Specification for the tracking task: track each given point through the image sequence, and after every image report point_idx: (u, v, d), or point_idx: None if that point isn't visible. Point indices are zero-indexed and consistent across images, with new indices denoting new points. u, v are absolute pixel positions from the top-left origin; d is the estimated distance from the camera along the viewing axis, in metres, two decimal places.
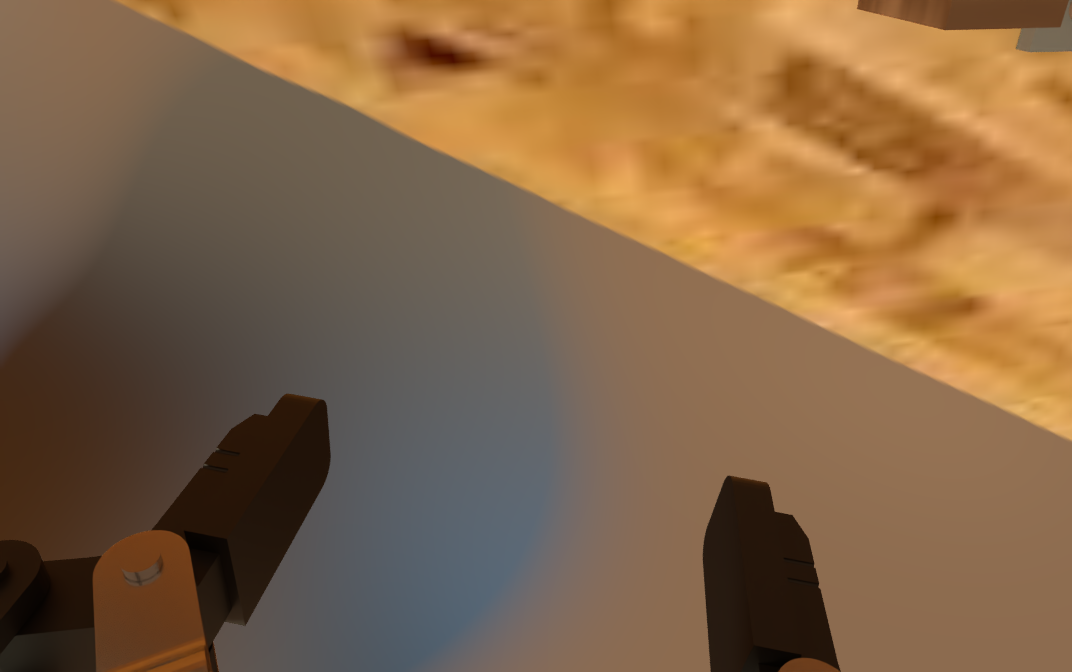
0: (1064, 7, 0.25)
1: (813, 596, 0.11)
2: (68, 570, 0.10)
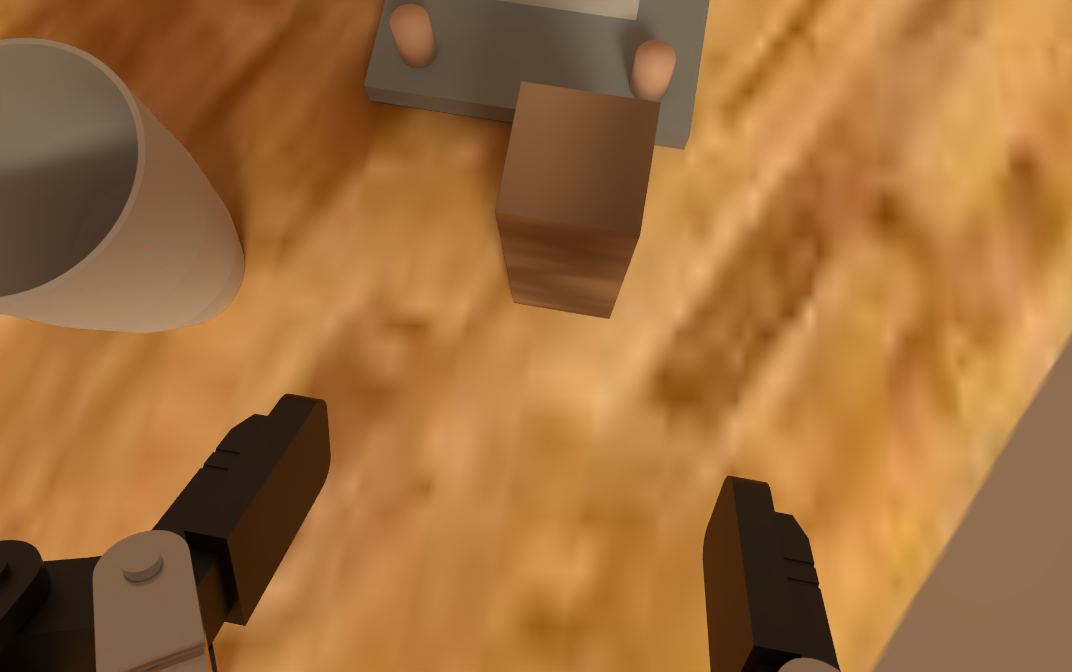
0: (637, 101, 0.19)
1: (813, 596, 0.11)
2: (69, 570, 0.10)
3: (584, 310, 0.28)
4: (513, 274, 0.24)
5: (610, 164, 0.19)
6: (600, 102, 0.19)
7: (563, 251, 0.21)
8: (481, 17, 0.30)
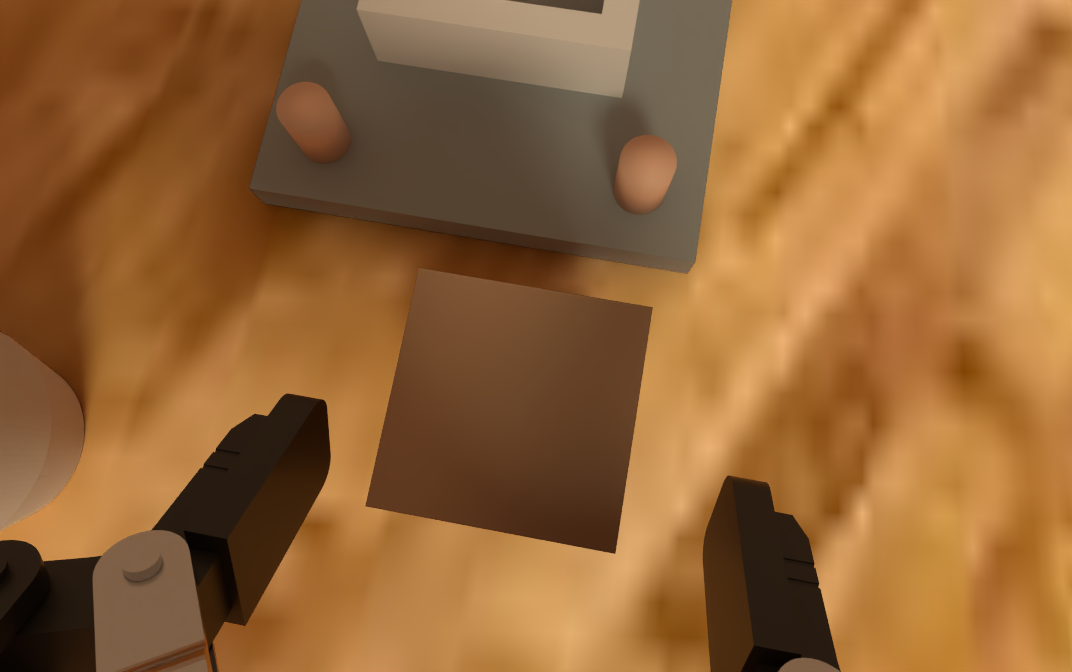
0: (612, 305, 0.11)
1: (813, 596, 0.11)
2: (68, 570, 0.10)
3: None
4: None
5: (566, 420, 0.11)
6: (550, 306, 0.11)
7: None
8: (412, 92, 0.22)
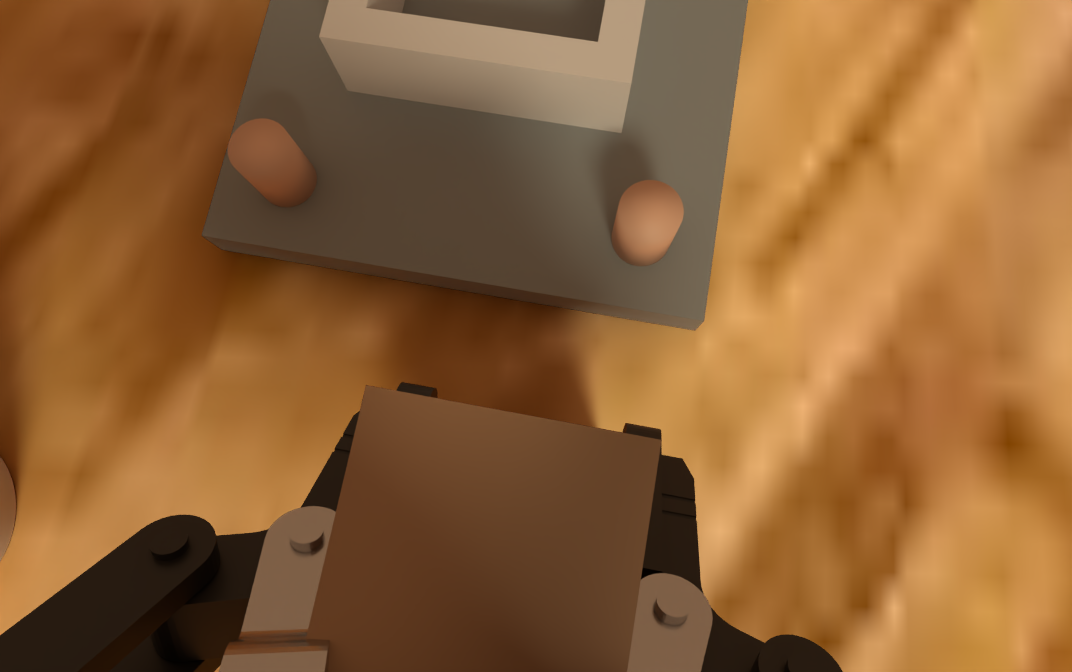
0: (610, 437, 0.09)
1: (689, 527, 0.12)
2: (232, 544, 0.11)
3: None
4: None
5: (550, 589, 0.09)
6: (531, 437, 0.09)
7: None
8: (386, 127, 0.20)
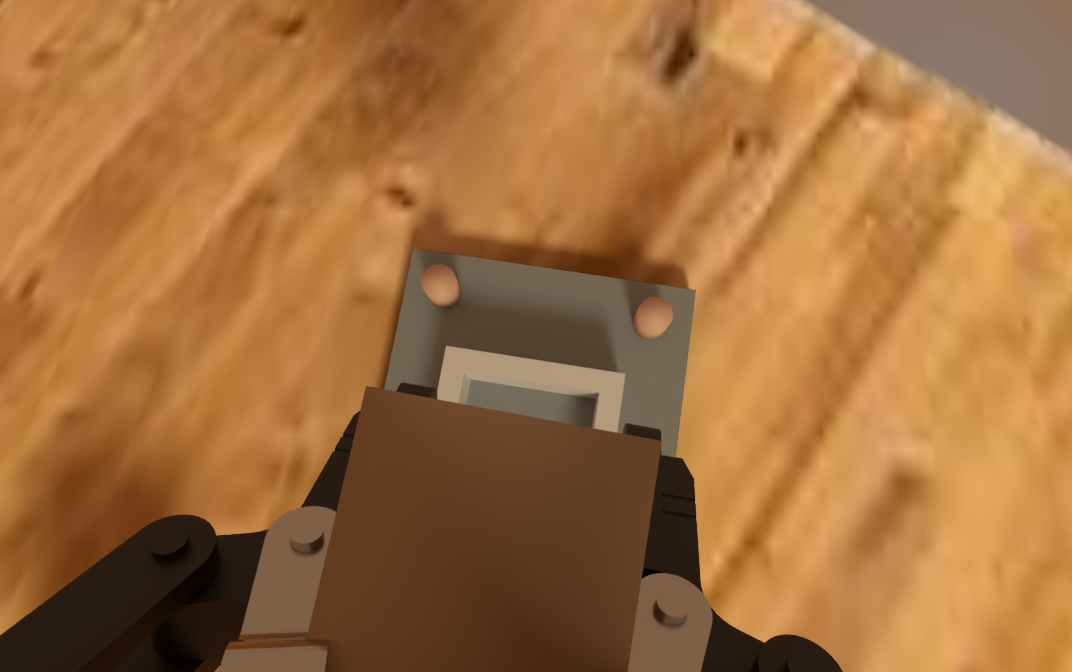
0: (611, 438, 0.09)
1: (689, 527, 0.12)
2: (232, 544, 0.11)
3: None
4: None
5: (550, 590, 0.09)
6: (532, 438, 0.09)
7: None
8: None
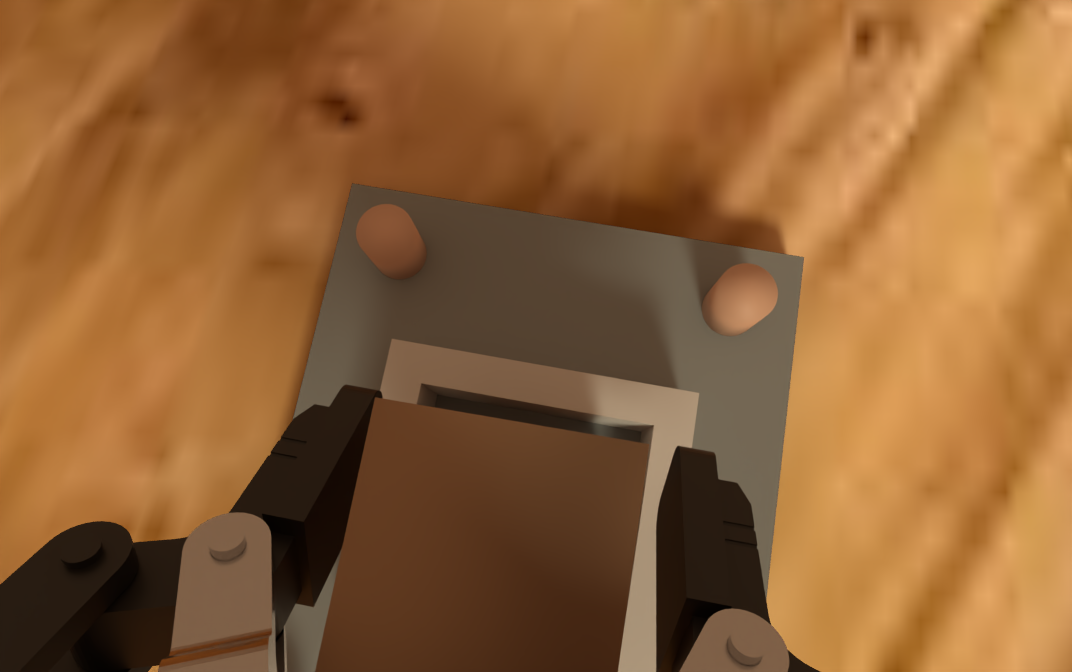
0: (602, 442, 0.10)
1: (751, 556, 0.12)
2: (154, 551, 0.10)
3: None
4: None
5: (547, 583, 0.09)
6: (529, 443, 0.10)
7: None
8: None
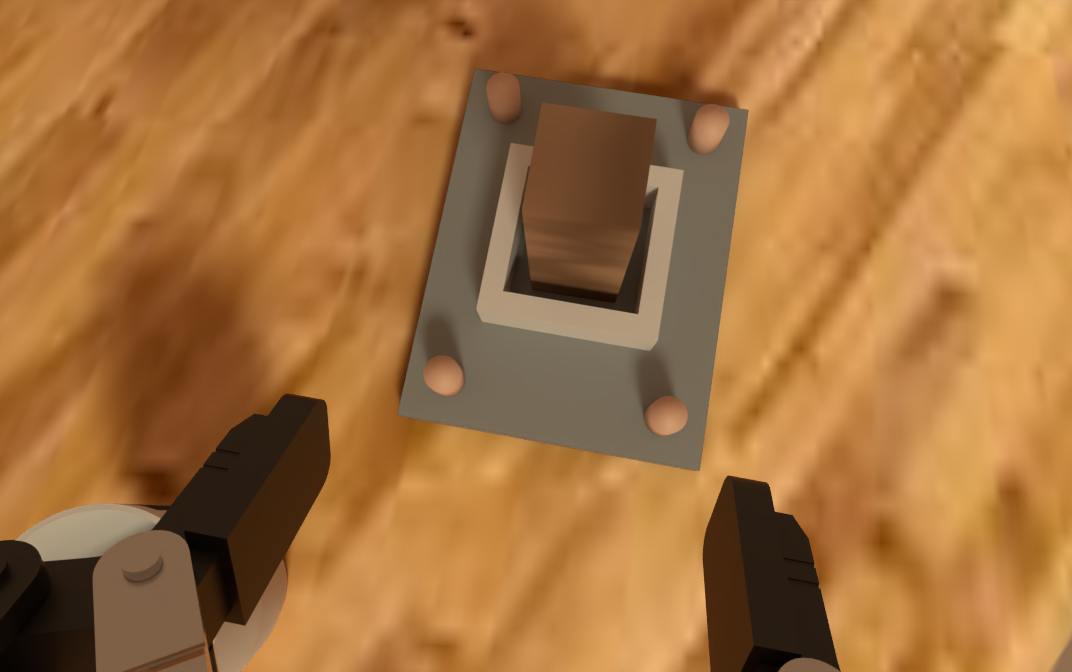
0: (637, 118, 0.24)
1: (813, 596, 0.11)
2: (68, 570, 0.10)
3: (593, 295, 0.32)
4: (532, 263, 0.29)
5: (616, 170, 0.23)
6: (607, 119, 0.24)
7: (577, 243, 0.25)
8: (506, 345, 0.32)
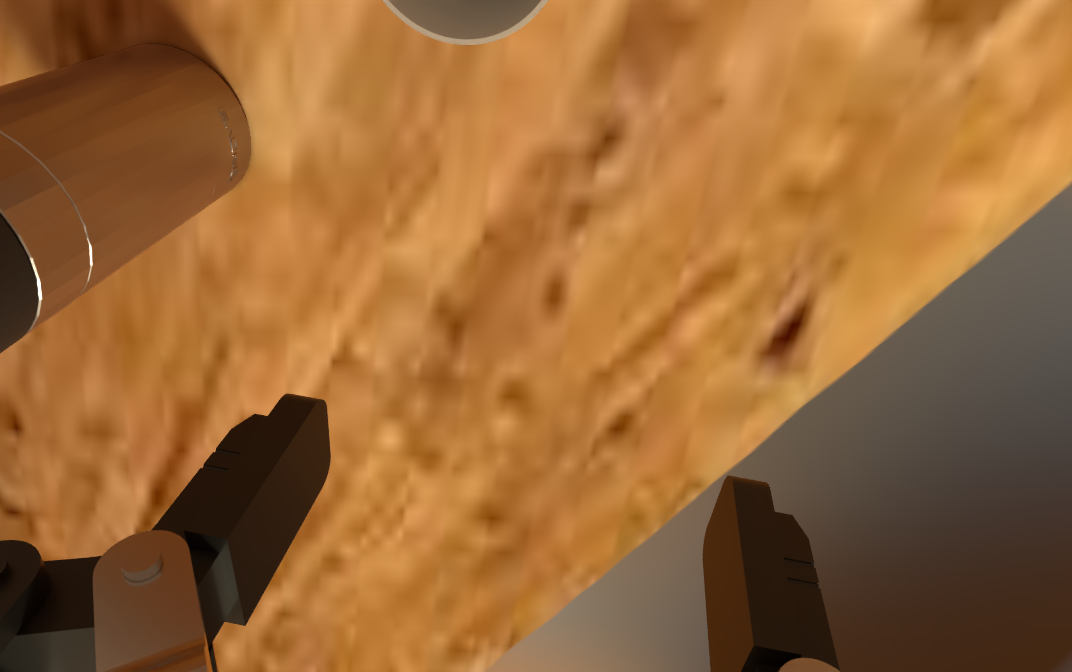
0: None
1: (813, 596, 0.11)
2: (68, 570, 0.10)
3: None
4: None
5: None
6: None
7: None
8: None
